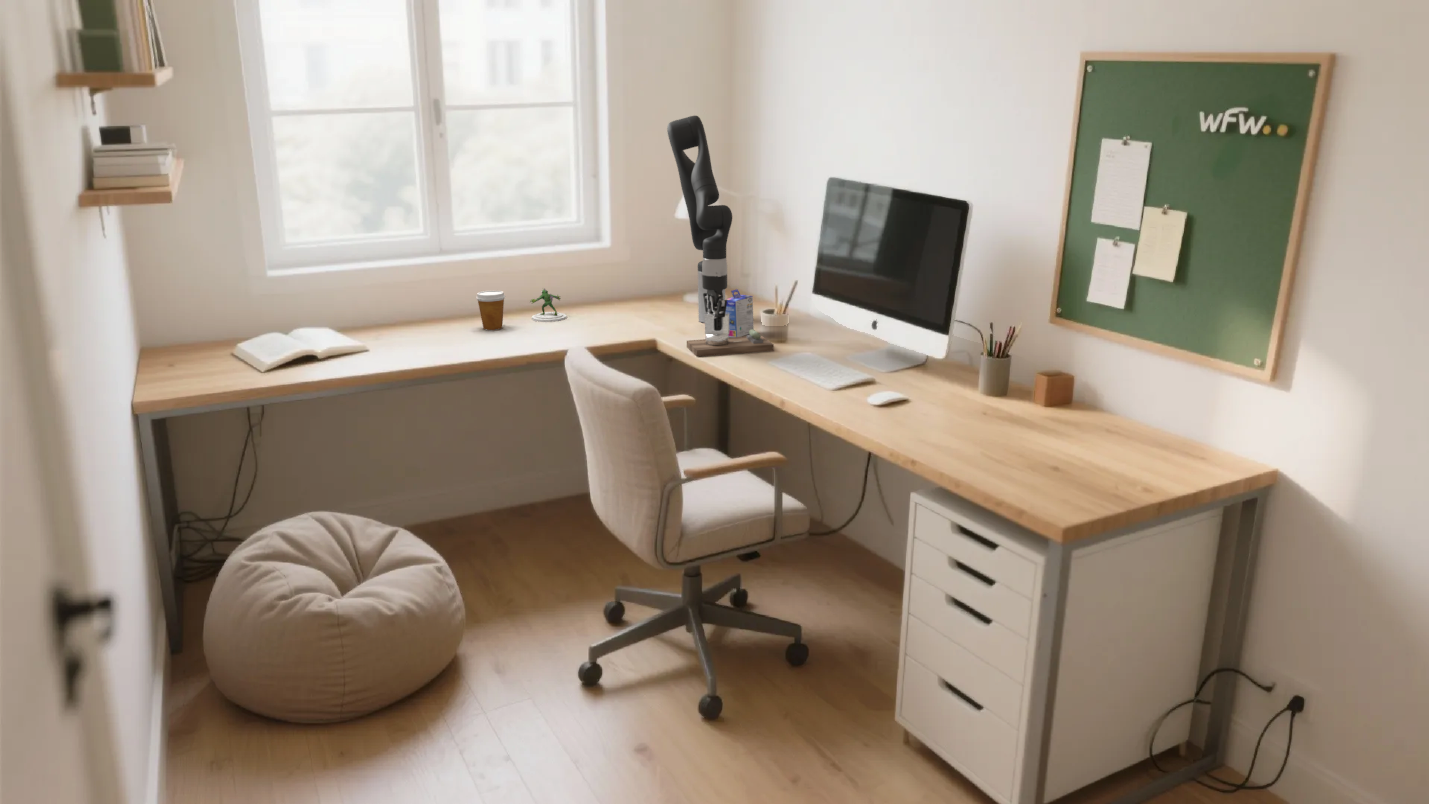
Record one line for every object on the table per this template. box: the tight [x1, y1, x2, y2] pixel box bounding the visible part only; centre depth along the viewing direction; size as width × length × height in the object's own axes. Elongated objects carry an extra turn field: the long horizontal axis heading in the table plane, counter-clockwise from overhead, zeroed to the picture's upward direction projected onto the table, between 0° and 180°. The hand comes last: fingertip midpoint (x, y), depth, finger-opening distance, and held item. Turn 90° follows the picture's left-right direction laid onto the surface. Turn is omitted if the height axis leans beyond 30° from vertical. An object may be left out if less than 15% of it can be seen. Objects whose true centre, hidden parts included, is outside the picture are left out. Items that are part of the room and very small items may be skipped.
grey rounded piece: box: [704, 313, 729, 346], centre depth 337 cm, size 7×7×9 cm
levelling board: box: [686, 329, 775, 358], centre depth 339 cm, size 13×24×5 cm, turn 105°
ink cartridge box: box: [725, 288, 755, 338], centre depth 357 cm, size 10×6×14 cm, turn 144°
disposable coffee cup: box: [475, 290, 506, 331], centre depth 372 cm, size 10×10×12 cm
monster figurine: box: [529, 287, 567, 323], centre depth 386 cm, size 12×12×10 cm
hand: (715, 328), depth 337 cm, fingers closed on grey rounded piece, 3 cm apart
